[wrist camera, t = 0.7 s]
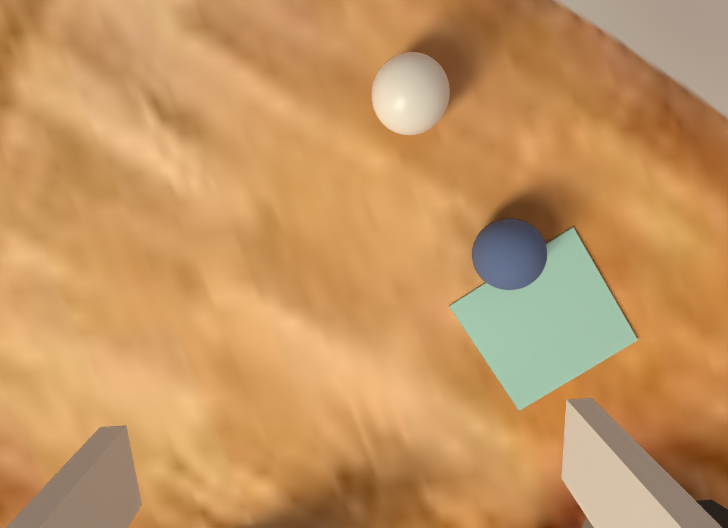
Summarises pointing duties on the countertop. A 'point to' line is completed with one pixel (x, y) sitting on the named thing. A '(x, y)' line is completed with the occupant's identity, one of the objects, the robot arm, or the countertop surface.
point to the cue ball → (410, 93)
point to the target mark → (546, 323)
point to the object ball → (509, 254)
